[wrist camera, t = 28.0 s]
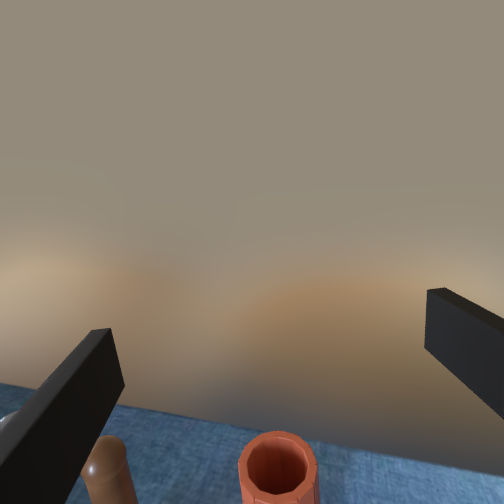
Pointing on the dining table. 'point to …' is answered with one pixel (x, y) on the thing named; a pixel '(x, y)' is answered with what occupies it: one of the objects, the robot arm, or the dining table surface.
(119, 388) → the robot arm
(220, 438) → the dining table surface
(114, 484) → the ring stand
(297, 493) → the orange hollow tube
